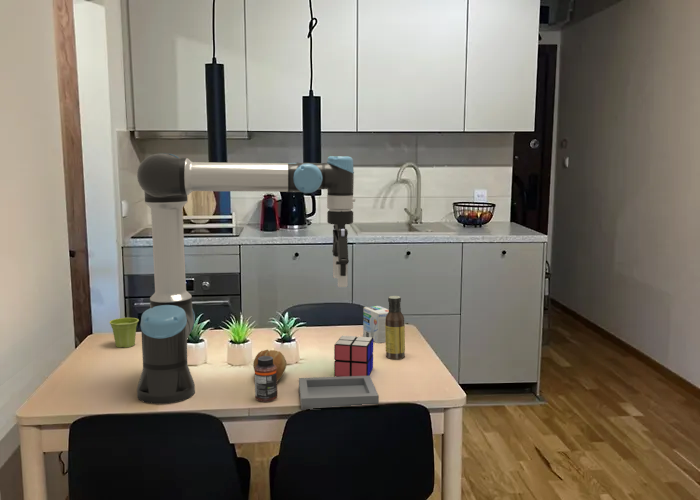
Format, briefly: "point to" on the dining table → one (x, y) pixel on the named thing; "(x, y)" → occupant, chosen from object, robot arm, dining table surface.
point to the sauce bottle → (395, 330)
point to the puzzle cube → (353, 356)
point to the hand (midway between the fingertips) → (340, 282)
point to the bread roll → (277, 360)
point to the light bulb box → (375, 323)
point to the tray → (336, 391)
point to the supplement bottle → (265, 379)
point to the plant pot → (124, 331)
